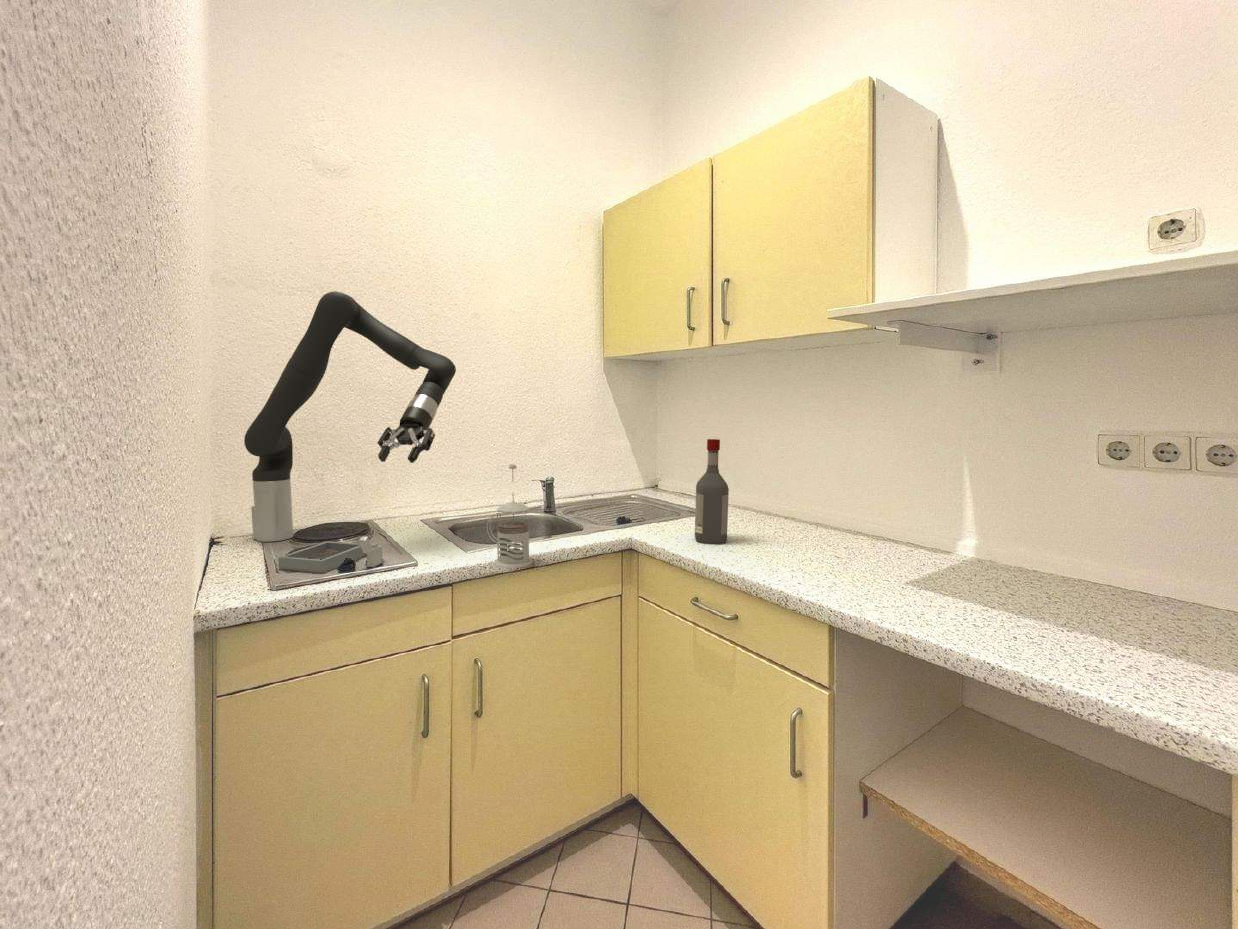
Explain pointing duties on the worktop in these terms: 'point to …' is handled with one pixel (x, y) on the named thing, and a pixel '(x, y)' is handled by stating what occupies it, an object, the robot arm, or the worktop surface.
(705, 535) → the liquor
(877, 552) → the worktop surface
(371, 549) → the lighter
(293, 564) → the tray
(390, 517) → the worktop surface
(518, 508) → the french press
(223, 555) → the worktop surface
